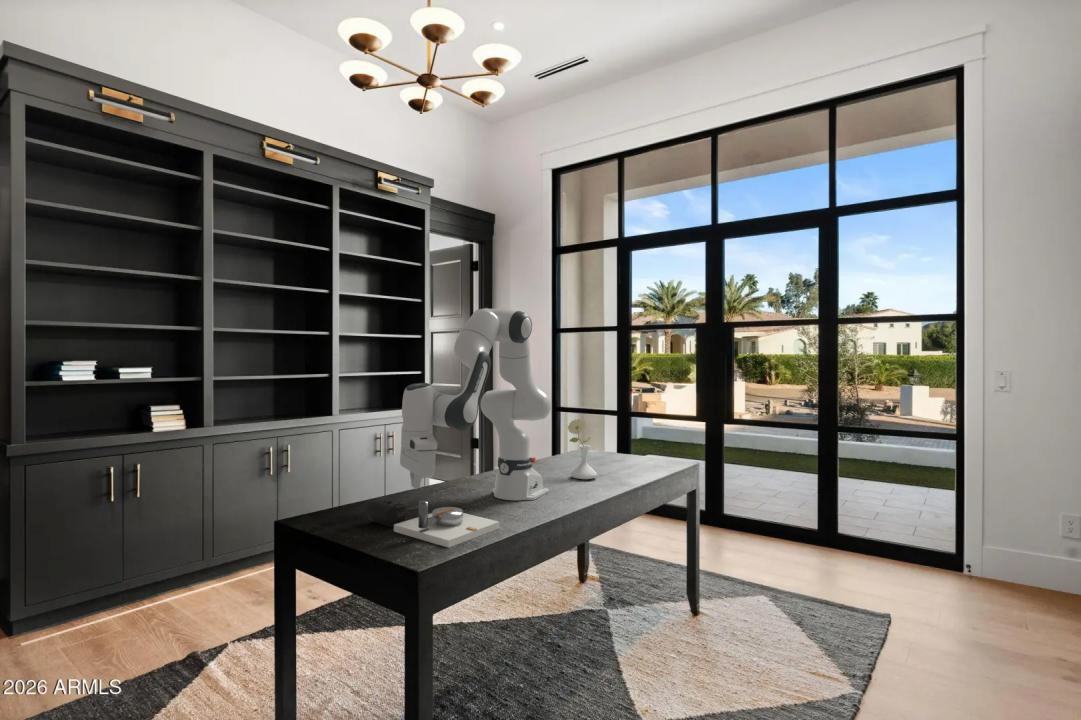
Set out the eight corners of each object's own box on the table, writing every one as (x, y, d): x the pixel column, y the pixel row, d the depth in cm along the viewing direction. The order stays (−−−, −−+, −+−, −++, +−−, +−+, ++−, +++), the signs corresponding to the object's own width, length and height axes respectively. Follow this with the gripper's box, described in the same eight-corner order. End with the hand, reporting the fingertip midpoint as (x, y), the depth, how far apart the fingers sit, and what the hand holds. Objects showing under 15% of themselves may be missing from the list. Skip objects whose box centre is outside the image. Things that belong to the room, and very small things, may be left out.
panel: (446, 514, 192) (446, 507, 192) (499, 528, 180) (499, 520, 180) (393, 531, 174) (393, 523, 174) (448, 547, 162) (448, 538, 162)
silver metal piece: (447, 515, 183) (447, 489, 183) (469, 520, 178) (469, 494, 178) (408, 527, 170) (409, 499, 170) (430, 533, 165) (431, 505, 165)
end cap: (365, 524, 181) (366, 502, 181) (385, 518, 187) (385, 497, 186) (386, 531, 175) (387, 508, 175) (405, 525, 181) (406, 503, 180)
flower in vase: (597, 476, 255) (599, 418, 254) (596, 482, 244) (598, 421, 243) (567, 474, 257) (569, 416, 256) (564, 480, 246) (566, 420, 245)
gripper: (395, 435, 178) (394, 481, 179) (417, 445, 161) (416, 496, 161) (415, 434, 182) (414, 479, 182) (439, 444, 164) (438, 494, 164)
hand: (415, 487), depth 171 cm, fingers closed
